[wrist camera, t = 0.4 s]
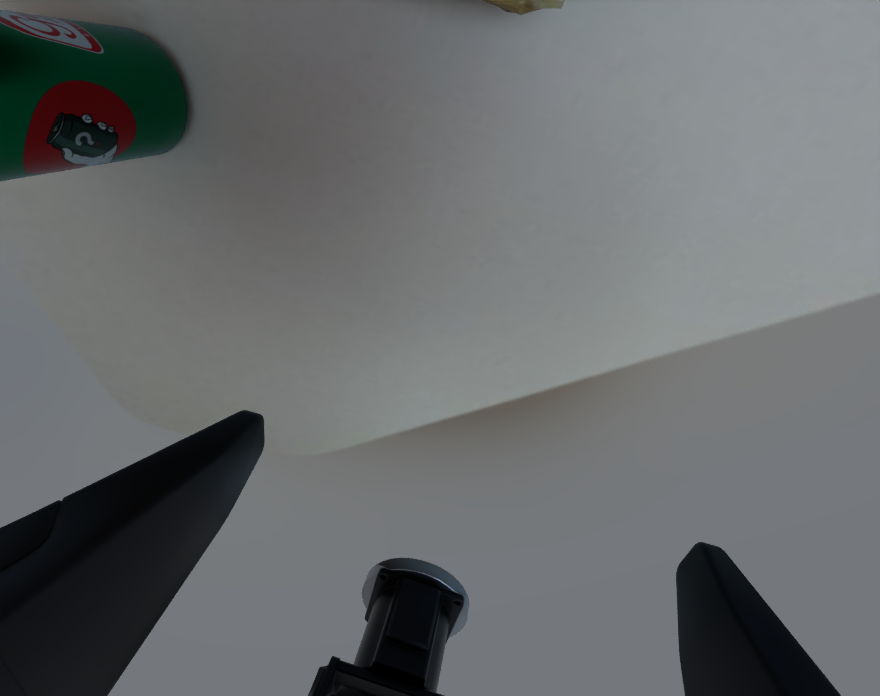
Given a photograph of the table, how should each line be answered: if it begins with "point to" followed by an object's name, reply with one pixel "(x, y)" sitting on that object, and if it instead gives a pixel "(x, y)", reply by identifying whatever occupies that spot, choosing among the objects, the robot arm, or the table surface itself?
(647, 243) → the table surface
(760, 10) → the table surface
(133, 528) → the robot arm
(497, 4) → the bread
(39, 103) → the soda can
